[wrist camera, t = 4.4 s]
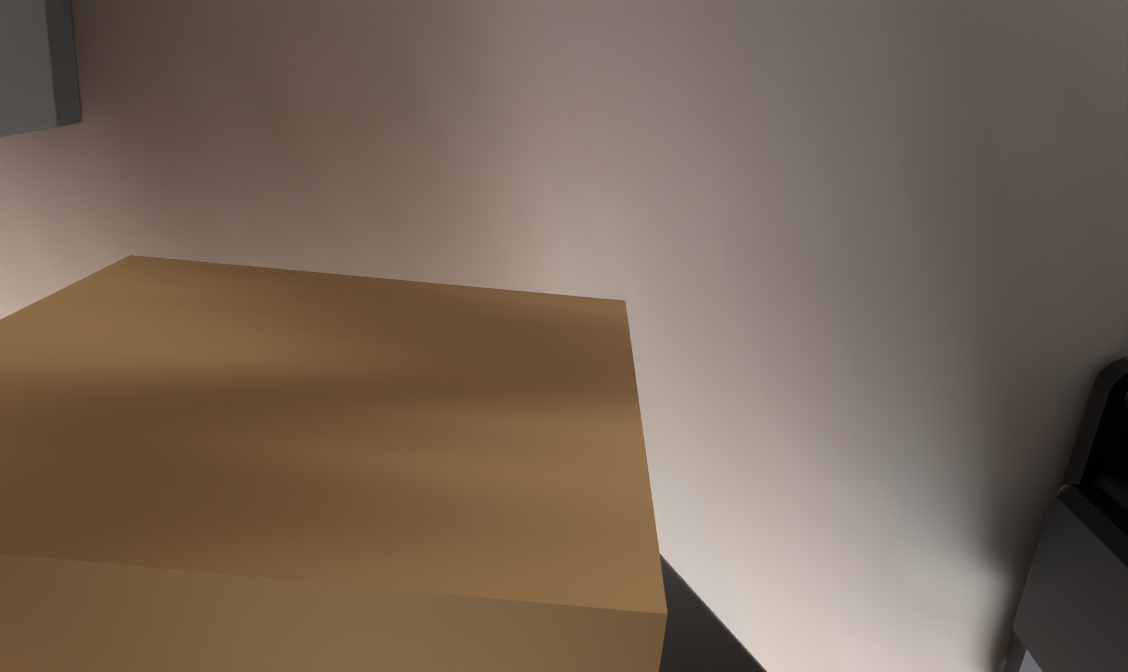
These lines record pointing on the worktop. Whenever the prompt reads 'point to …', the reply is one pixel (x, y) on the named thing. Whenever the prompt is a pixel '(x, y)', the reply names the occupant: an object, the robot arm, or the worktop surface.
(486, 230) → the worktop surface
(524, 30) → the worktop surface
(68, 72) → the tray
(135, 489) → the wooden cube
